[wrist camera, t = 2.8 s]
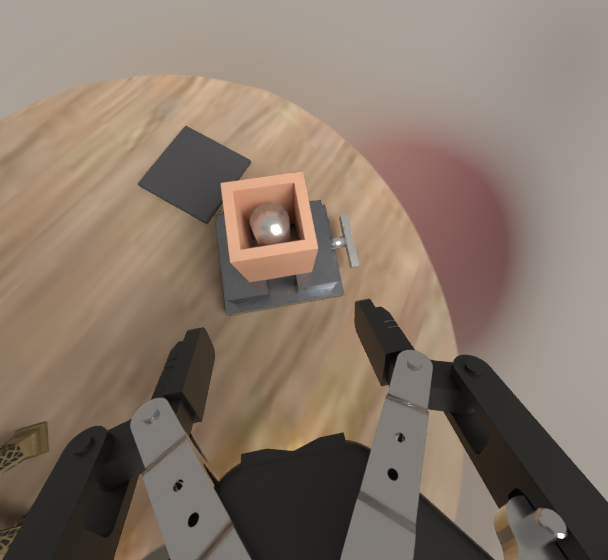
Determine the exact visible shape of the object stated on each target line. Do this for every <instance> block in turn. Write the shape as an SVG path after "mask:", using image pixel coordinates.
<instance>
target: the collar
mask: <svg viewBox="0 0 608 560" xmlns="http://www.w3.org/2000/svg"><path fill="white" fill-rule="evenodd" d="M221 191H222V199H223V208H224V216H225V224H226V232H227V240H228V249H229V257H230V263H231V264H232V265H233V266H234V267H235V268H236V269H237V270H238V271H239V272H240V273H241V274H242V275H243V276H244V277H245V278H246V279H247V280H248V281H249V282H255V281H261V280H267V279H273V278H279V277H285V276H291V275H297V274H303V273H309V272H312V270H313V266H314V262H315V259H316V255H317V251H318V245H317V240H316V235H315V230H314V225H313V220H312V215H311V210H310V205H309V200H308V195H307V190H306V185H305V180H304V175H303V172H297V173H290V174H282V175H275V176H268V177H261V178H253V179H246V180H239V181H232V182H224V183H221ZM267 203H273V204H277V205H279V206H281V207H283V208H284V209H285V210H286V212H287V213H288V216H289V223H290V224H294V223H295V228H296V233H297V238H298V241H293V242H287V243H280V244H274V245H268V246H261V247H255V248H253V245H252V238H251V231H250V230H252V229H251V226H250V218H251V215H252V213H253V211H254V210H255V209H256V208H257V207H259V206H260V205H263V204H267Z"/></svg>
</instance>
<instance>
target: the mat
mask: <svg viewBox="0 0 608 560" xmlns="http://www.w3.org/2000/svg"><path fill="white" fill-rule="evenodd" d="M250 164H251V161H250V160H249V159H247V158H245V157H244V156H242V155H240V154H238V153H236V152H234V151H232V150H230V149H229V148H227V147H225V146H223V145H221V144H219V143H217V142H215V141H214V140H212V139H210V138H208V137H206V136H204V135H202V134H201V133H199V132H197V131H195V130H193V129H191V128H189V127H187V126H185V127H184V128H183V129H182V131H181V132H180V133H179V134H178V135H177V137H176V138H175V139H174V140H173V142H172V143H171V144H170V145H169V146H168V148H167V149H166V150H165V151H164V152H163V154H162V155H161V156H160V157H159V159H158V160H157V161H156V162H155V163H154V165H153V166H152V167H151V168H150V169H149V171H148V172H147V173H146V174H145V175H144V177H143V178H142V179H141V180H140V182H139V183H138V185H139V186H141V187H142V188H144V189H146V190H148V191H149V192H151V193H153V194H155V195H156V196H158V197H160V198H162V199H164V200H165V201H167V202H169V203H171V204H172V205H174V206H176V207H178V208H179V209H181V210H183V211H185V212H186V213H188V214H190V215H192V216H193V217H195V218H197V219H199V220H201V221H202V222H204V223H206V224H207V223H208V222H209V220H210V219H211V218H212V216H213V215H214V213H215V212H216V211H217V209H218V208H219V207H220V205H221V204H222V202H223V199H222V191H221V183H224V182H232V181H238V180H239V179H240V177H241V176H242V175H243V173H244V172H245V170H246V169H247V168H248V166H249V165H250Z"/></svg>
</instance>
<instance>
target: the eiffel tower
mask: <svg viewBox="0 0 608 560" xmlns="http://www.w3.org/2000/svg"><path fill="white" fill-rule="evenodd" d="M48 451H49V448H48V429H47V422H45V423H42V424H38V425H35V426H31V427H28V428H24V429H21V430H18V431H16V436H14V437H12V440H10V441H8V442H7V443H6V444H5V445H4V446H3V447H2V448H1V449H0V475H1V474H3V473H4V472H6V471H7V470H9V469H11V468H12V467H14V466H15V465H17V464H19V463H20V462H22V461H23V460H25V459H28V458H31V457H35V456H38V455H40V454H43V453H46V452H48ZM25 518H26V517H24V518H21V519H20V520H18V521H17V522H15V523H14V527H12V528H8V529H4V530H0V554H6V552H7V550H8V549H9V547H10V545H11V543H12V542H13V540H14V538H15V536H16V534H17V533H18V531H19V529H20V527H21V525H22V524H23V522H24V520H25Z"/></svg>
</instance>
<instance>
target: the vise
mask: <svg viewBox="0 0 608 560" xmlns="http://www.w3.org/2000/svg"><path fill="white" fill-rule="evenodd" d="M309 205H310V210H311V215H312V220H313V225H314V230H315V235H316V240H317V245H318V251H317V255H316V259H315V262H314V266H313V270H312V272H309V273H303V274H297V275H291V276H285V277H279V278H273V279H267V280H261V281H255V282H249V281H248V280H247V279H246V278H245V277H244V276H243V275H242V274H241V273H240V272H239V271H238V270H237V269H236V268H235V267H234V266H233V265H232V264H231V263H230V257H229V249H228V240H227V232H226V224H225V216H224V214H222V215H217V221H216V230H217V239H218V248H219V256H220V265H221V274H222V283H223V292H224V301H225V310H226V315H229V316H231V315H237V314H243V313H248V312H254V311H260V310H266V309H271V308H277V307H283V306H288V305H294V304H300V303H305V302H311V301H317V300H322V299H328V298H334V297H340V296H343V295H344V291H343V286H342V282H341V277H340V272H339V268H338V263H337V258H336V254H335V249H337V248H343V247H346V252H347V256H348V260H349V265H350V269H351V268H357V267H358V266H359V262H358V257H357V253H356V249H355V245H354V240H353V236H352V232H351V227H350V223H349V219H348V215H347V214H343V215H340V217H339V221H340V225H341V229H342V234H343V236H342V237H335V238H332V235H331V230H330V226H329V221H328V217H327V212H326V207H325V205H322V203H321V200H317V201H310V202H309ZM250 226H251V229H252V230H250V231H251V238H252V245H253V248H255V247H261V246H268V245H274V244H280V243H287V242H293V241H298V238H297V233H296V228H295V223H294V224H290V223H289V216H288V213H287V212H286V210H285V209H284V208H283V207H281V206H279V205H277V204H273V203H267V204H263V205H260V206H259V207H257V208H256V209H255V210H254V211H253V213H252V215H251V218H250Z"/></svg>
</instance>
